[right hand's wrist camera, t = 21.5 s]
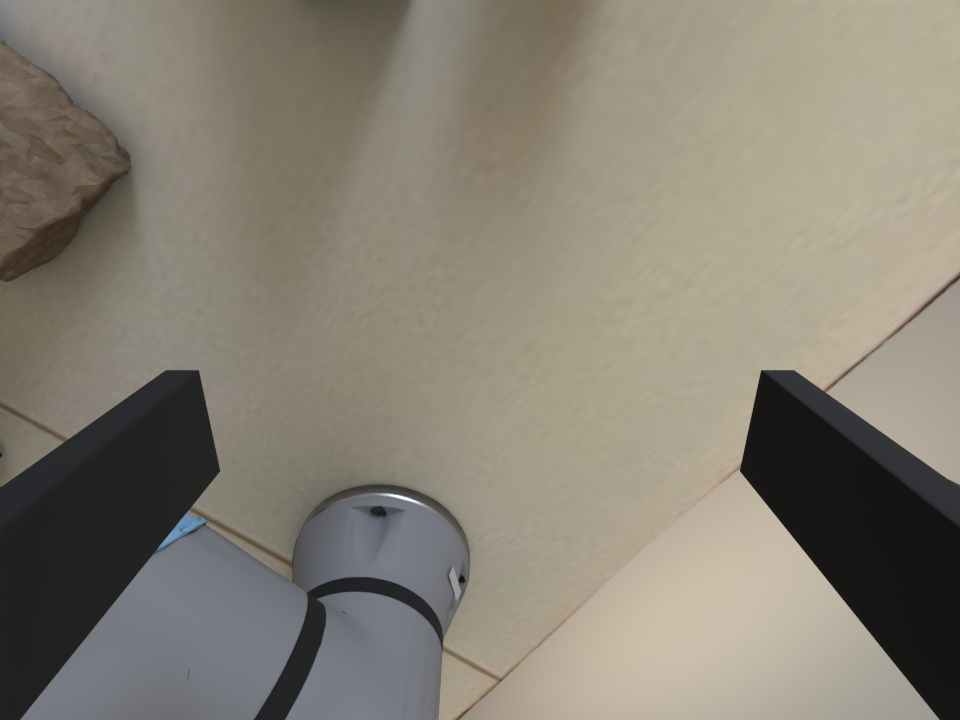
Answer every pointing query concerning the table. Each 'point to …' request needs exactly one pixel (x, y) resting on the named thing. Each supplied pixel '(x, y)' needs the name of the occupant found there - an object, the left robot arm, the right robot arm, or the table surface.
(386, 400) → the table surface
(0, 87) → the stone
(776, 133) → the table surface
